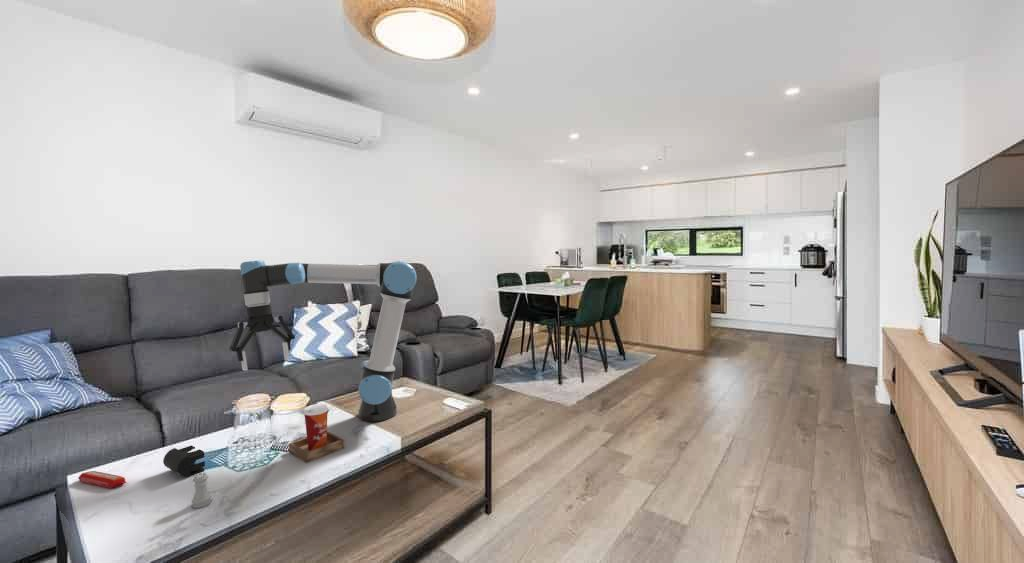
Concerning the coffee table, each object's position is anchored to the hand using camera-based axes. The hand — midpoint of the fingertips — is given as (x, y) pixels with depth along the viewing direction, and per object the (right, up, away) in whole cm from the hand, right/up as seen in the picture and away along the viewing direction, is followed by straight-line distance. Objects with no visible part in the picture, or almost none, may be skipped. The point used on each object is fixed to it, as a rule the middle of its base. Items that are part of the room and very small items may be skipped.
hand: (266, 365), depth 146 cm
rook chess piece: (+4, -30, -35) cm, 47 cm away
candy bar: (-33, -30, -25) cm, 51 cm away
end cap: (-14, -29, -19) cm, 37 cm away
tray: (+20, -28, -5) cm, 35 cm away
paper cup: (+20, -27, -5) cm, 34 cm away
